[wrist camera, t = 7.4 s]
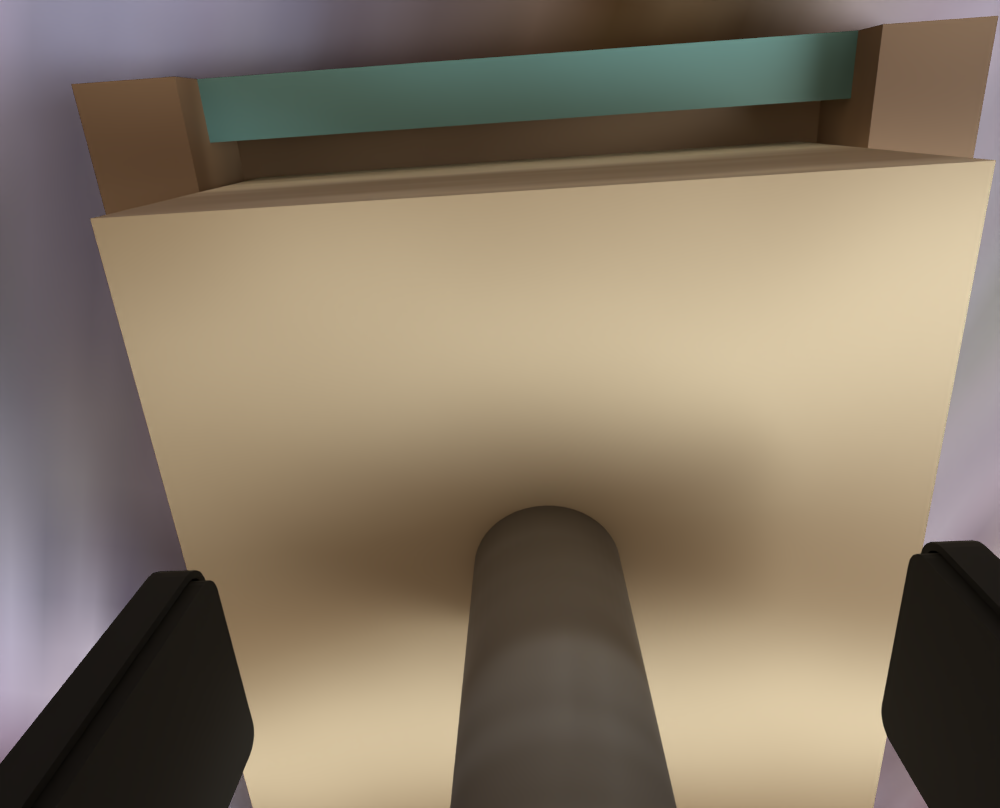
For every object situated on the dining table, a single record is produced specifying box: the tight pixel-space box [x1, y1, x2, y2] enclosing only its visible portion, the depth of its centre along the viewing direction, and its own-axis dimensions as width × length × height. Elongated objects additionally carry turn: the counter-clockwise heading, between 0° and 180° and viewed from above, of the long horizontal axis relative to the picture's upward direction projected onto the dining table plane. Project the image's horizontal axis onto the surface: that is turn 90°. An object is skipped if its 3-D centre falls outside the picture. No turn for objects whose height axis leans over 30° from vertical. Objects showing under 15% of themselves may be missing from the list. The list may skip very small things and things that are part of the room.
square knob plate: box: [90, 141, 996, 808], centre depth 12 cm, size 12×12×13 cm
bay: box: [71, 16, 998, 215], centre depth 19 cm, size 26×17×3 cm, turn 4°
